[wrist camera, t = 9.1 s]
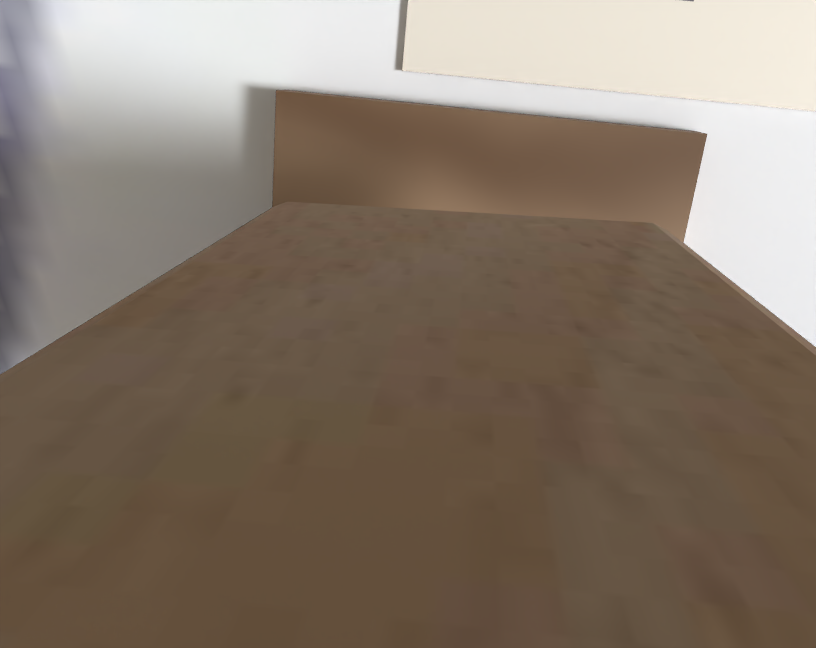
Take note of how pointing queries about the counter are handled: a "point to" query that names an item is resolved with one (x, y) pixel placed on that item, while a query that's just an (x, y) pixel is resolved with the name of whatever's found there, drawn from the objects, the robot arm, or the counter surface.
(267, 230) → the wooden block
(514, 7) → the tile
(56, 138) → the counter surface
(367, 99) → the board
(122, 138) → the counter surface
